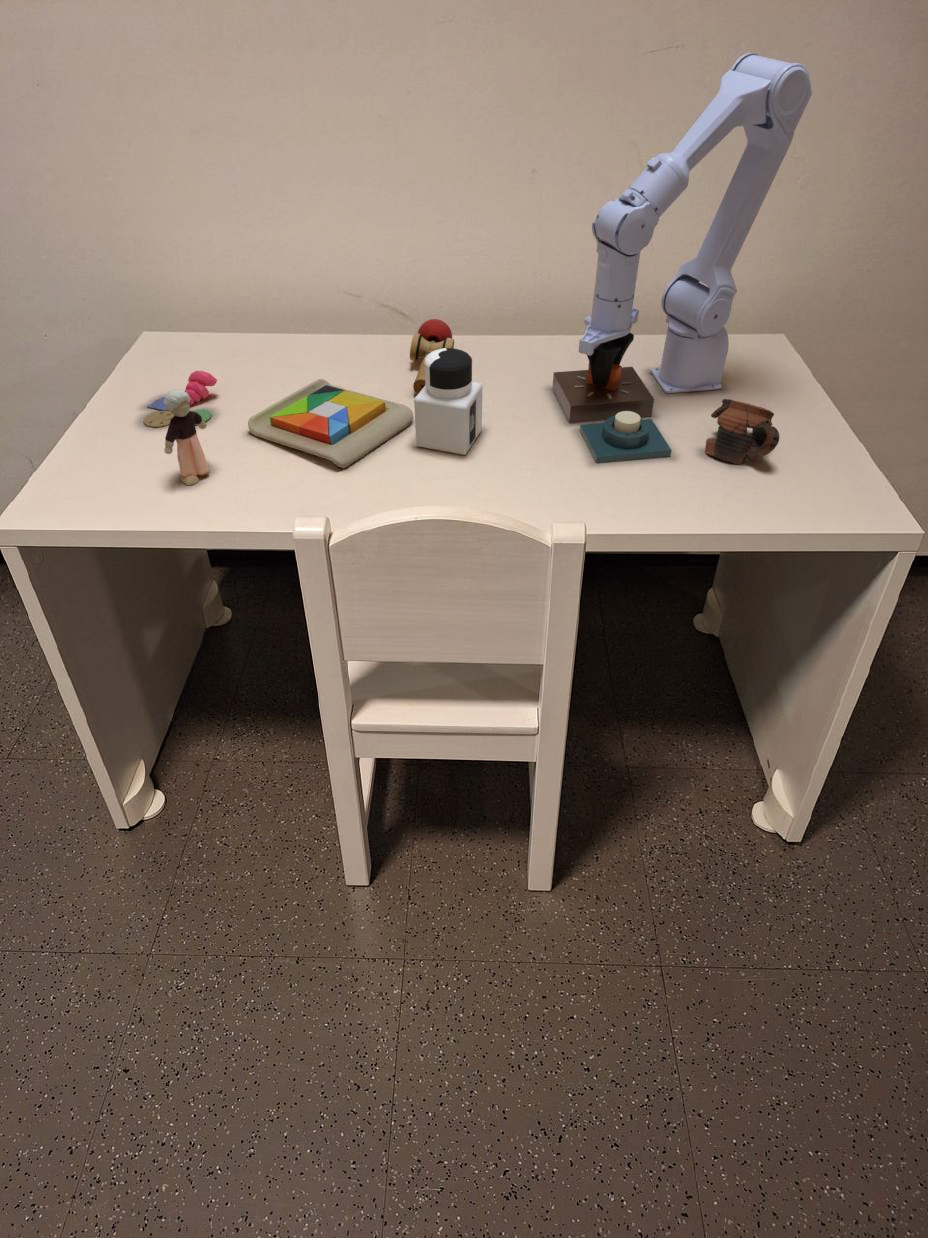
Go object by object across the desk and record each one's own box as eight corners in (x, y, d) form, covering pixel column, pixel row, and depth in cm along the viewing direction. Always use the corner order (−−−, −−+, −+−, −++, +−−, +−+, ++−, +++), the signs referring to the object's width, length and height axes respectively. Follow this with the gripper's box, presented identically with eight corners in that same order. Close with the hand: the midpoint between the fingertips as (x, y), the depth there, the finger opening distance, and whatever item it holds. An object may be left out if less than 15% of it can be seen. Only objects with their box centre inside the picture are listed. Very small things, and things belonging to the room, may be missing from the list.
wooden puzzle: (325, 387, 132) (322, 366, 129) (417, 421, 124) (416, 400, 121) (245, 432, 121) (241, 411, 119) (340, 473, 113) (337, 451, 111)
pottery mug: (684, 448, 119) (704, 392, 116) (726, 460, 124) (746, 407, 122) (747, 467, 109) (771, 406, 107) (789, 480, 115) (812, 422, 112)
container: (482, 430, 122) (483, 346, 113) (465, 456, 116) (465, 371, 108) (434, 421, 124) (431, 339, 115) (415, 446, 118) (411, 362, 109)
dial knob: (619, 387, 125) (622, 364, 123) (613, 391, 124) (617, 368, 122) (591, 378, 127) (594, 355, 125) (586, 382, 126) (589, 359, 124)
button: (634, 420, 118) (636, 409, 117) (642, 433, 116) (644, 422, 115) (610, 422, 118) (612, 411, 117) (617, 435, 115) (619, 424, 114)
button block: (650, 425, 123) (653, 407, 121) (670, 457, 116) (674, 438, 114) (579, 431, 121) (581, 413, 119) (595, 463, 115) (598, 445, 113)
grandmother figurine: (196, 491, 110) (172, 406, 101) (170, 486, 111) (145, 401, 102) (223, 461, 115) (203, 378, 107) (199, 457, 116) (177, 374, 108)
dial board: (629, 383, 132) (632, 365, 130) (651, 416, 125) (654, 398, 122) (552, 389, 131) (553, 370, 129) (568, 423, 123) (570, 404, 121)
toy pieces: (166, 388, 132) (159, 362, 128) (230, 394, 130) (225, 368, 127) (129, 424, 123) (121, 398, 120) (198, 432, 121) (191, 405, 118)
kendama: (452, 403, 130) (462, 340, 141) (443, 369, 125) (455, 307, 137) (405, 408, 132) (419, 345, 143) (395, 375, 127) (411, 313, 138)
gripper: (613, 272, 122) (603, 358, 131) (563, 303, 114) (556, 392, 123) (656, 282, 119) (642, 369, 128) (608, 315, 111) (597, 406, 120)
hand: (603, 382), depth 125 cm, fingers closed on dial knob, 2 cm apart
